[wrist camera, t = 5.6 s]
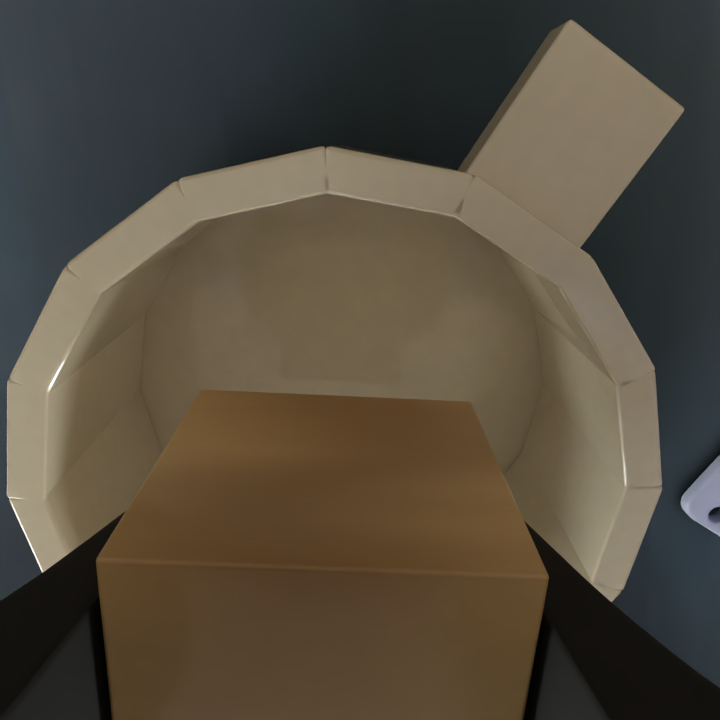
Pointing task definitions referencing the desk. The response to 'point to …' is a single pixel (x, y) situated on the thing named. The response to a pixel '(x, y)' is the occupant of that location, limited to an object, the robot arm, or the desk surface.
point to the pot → (371, 313)
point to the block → (322, 567)
